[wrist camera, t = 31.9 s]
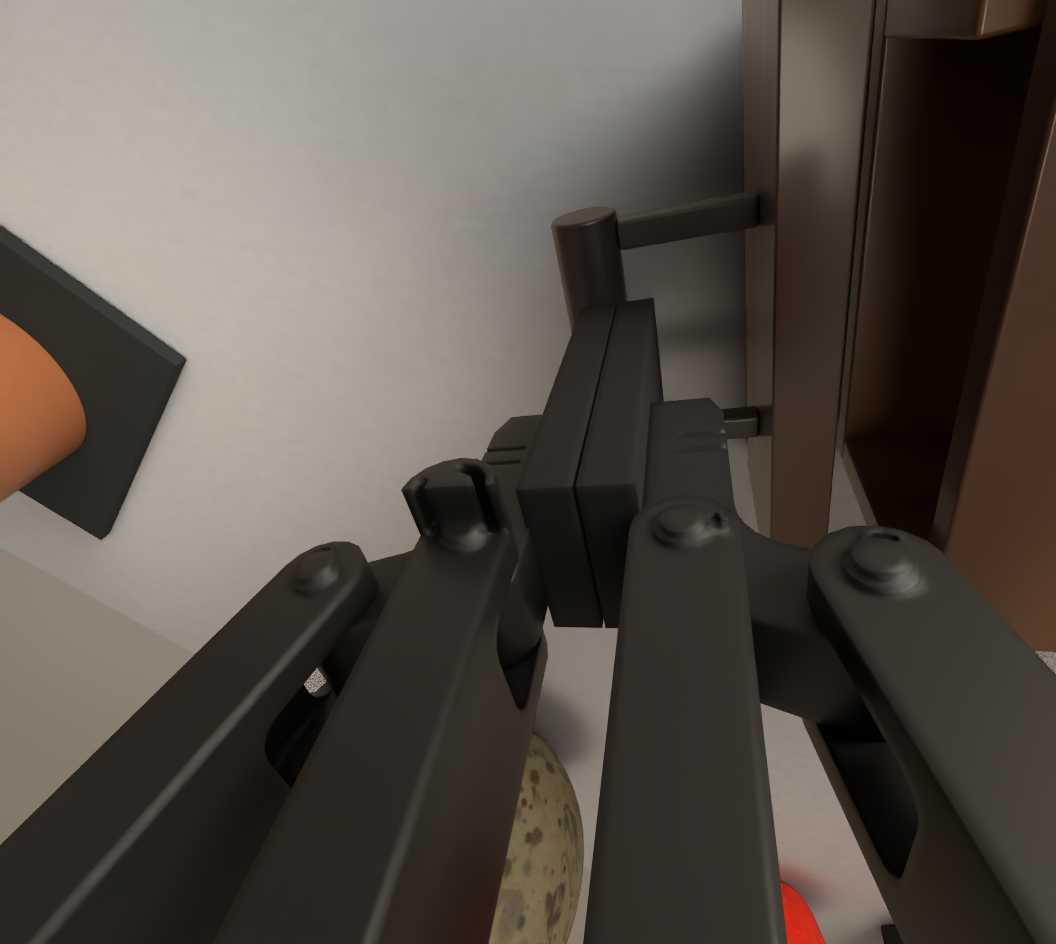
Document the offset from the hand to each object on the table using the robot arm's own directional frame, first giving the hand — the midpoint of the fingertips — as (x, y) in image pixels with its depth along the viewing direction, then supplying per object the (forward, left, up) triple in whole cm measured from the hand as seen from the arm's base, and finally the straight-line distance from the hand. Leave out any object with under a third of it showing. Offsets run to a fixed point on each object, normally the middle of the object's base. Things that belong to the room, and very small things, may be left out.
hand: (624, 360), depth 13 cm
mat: (+11, -24, -5) cm, 27 cm away
